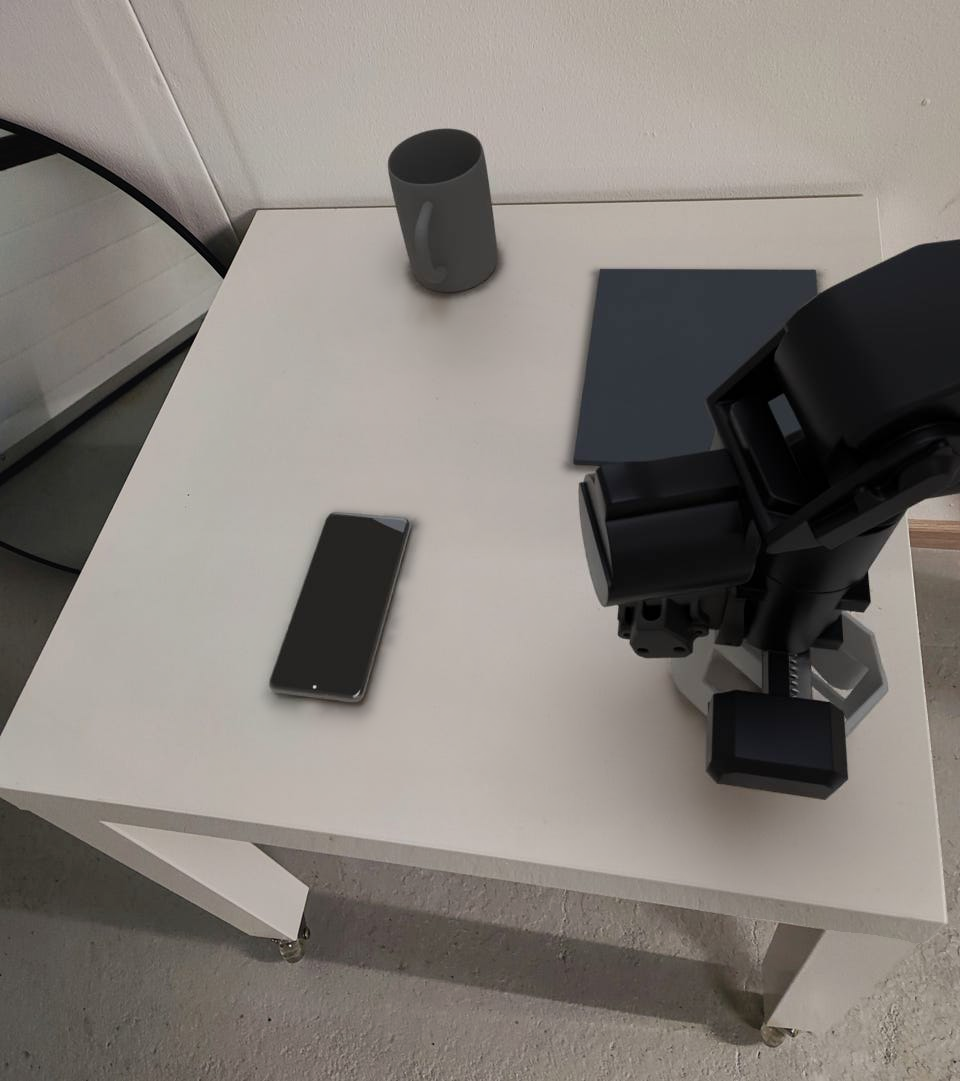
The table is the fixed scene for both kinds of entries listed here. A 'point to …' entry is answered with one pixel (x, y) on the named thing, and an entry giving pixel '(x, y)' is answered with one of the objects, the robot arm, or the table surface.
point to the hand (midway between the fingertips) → (742, 674)
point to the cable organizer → (840, 669)
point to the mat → (676, 355)
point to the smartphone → (341, 608)
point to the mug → (444, 208)
